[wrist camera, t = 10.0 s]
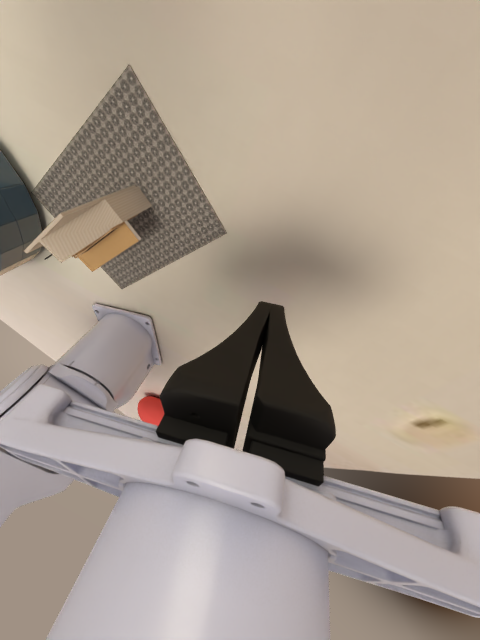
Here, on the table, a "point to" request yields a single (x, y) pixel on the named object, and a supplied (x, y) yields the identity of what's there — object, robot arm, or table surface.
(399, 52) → the table surface
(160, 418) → the stress ball
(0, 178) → the bowl
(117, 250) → the architectural model
